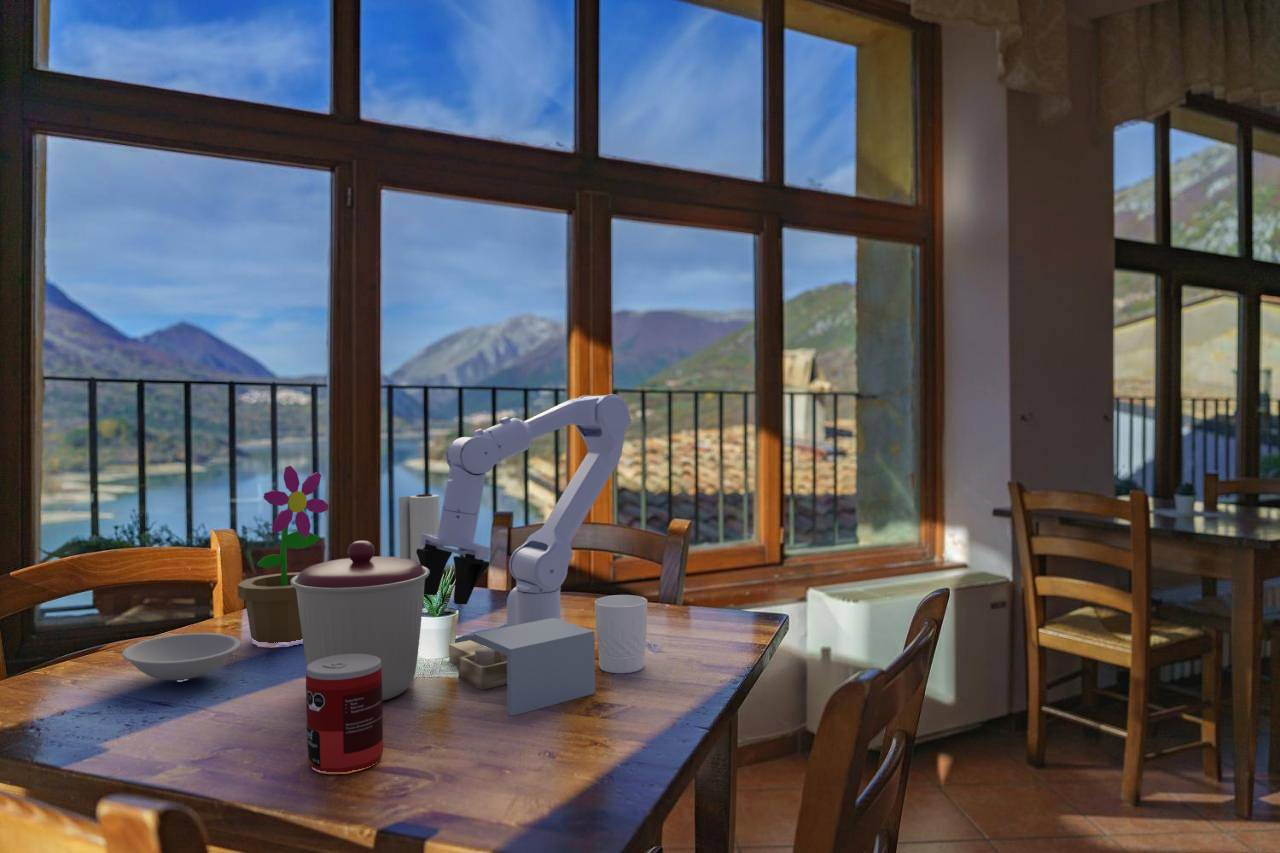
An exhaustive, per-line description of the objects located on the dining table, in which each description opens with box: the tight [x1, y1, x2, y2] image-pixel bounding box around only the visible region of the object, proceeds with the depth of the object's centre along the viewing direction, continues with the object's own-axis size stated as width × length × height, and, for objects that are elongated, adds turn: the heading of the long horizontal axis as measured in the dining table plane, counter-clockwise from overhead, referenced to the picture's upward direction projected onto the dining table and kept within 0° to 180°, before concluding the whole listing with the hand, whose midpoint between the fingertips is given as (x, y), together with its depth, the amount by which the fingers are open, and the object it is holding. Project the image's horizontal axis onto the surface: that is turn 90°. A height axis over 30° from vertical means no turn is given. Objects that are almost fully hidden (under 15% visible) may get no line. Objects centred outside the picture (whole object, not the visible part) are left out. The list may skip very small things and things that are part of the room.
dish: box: [121, 632, 241, 681], centre depth 122 cm, size 18×14×5 cm
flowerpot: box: [237, 465, 329, 643], centre depth 144 cm, size 14×14×30 cm
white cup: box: [594, 594, 648, 674], centre depth 126 cm, size 8×8×10 cm
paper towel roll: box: [398, 493, 441, 564], centre depth 175 cm, size 7×6×21 cm
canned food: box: [305, 654, 384, 772], centre depth 93 cm, size 8×8×11 cm
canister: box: [290, 540, 430, 702], centre depth 116 cm, size 18×18×21 cm
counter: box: [472, 618, 596, 717], centre depth 114 cm, size 10×13×8 cm
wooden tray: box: [448, 639, 507, 691], centre depth 126 cm, size 16×9×4 cm, turn 39°
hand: (444, 599), depth 131 cm, fingers open, 7 cm apart
